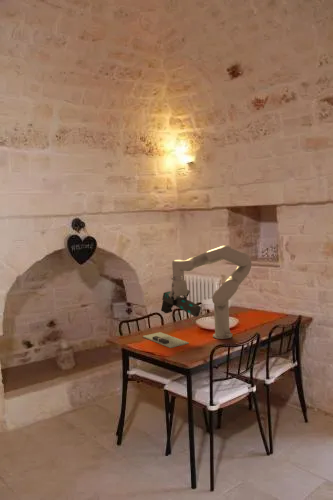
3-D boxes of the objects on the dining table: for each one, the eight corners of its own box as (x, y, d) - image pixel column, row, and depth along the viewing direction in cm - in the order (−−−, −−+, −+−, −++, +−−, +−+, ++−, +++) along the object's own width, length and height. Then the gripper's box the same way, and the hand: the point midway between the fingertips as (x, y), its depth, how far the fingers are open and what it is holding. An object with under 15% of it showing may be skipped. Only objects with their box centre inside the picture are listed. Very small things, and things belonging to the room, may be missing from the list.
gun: (165, 308, 334) (169, 288, 329) (197, 326, 316) (202, 305, 311) (159, 310, 329) (163, 290, 325) (191, 328, 311) (196, 307, 307)
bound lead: (169, 342, 306) (169, 340, 305) (164, 344, 304) (164, 341, 303) (156, 338, 318) (156, 335, 318) (152, 339, 316) (152, 336, 316)
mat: (188, 343, 304) (188, 342, 304) (170, 348, 297) (170, 346, 297) (160, 333, 333) (160, 332, 333) (142, 337, 326) (142, 335, 326)
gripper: (170, 280, 311) (171, 307, 312) (192, 277, 320) (193, 303, 322) (164, 279, 317) (165, 305, 319) (186, 276, 326) (187, 301, 328)
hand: (179, 304), depth 320 cm, fingers closed on gun, 7 cm apart
